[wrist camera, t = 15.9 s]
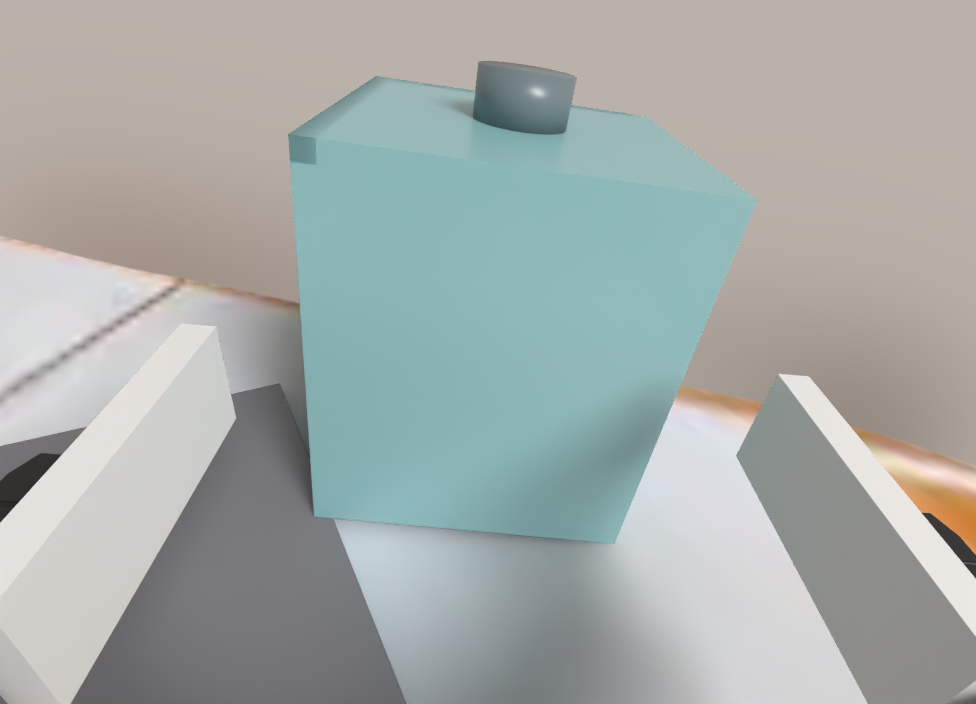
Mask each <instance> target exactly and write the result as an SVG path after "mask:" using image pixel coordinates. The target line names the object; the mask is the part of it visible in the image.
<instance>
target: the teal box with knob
mask: <svg viewBox="0 0 976 704" xmlns="http://www.w3.org/2000/svg"><path fill="white" fill-rule="evenodd" d="M576 79H577V78H576V77H575V76H573V75H570V74H567V73H563V72H559V71H555V70H550V69H545V68H540V67H535V66H528V65H522V64H515V63H507V62H497V61H496V62H495V61H480V62H478V71H477V80H476V90H475V91H473V90H465V89H459V88H452V87H446V86H439V85H432V84H426V83H418V82H412V81H406V80H399V79H392V78H385V77H379V76H376V77H374V78H373V79H371V80H370V81H368V82H367V83H365V84H364V85H362V86H361V87H359V88H358V89H356V90H354V91H353V92H351V93H350V94H348V95H347V96H345V97H344V98H342V99H341V100H339V101H338V102H337V103H335V104H334V105H332V106H330V107H329V108H327V109H326V110H324V111H323V112H321V113H320V114H318V115H317V116H315V117H314V118H312V119H311V120H309V121H308V122H306V123H305V124H303V125H302V126H301V127H299V128H297V129H296V130H294V131H293V132H291V133H290V134H288V137H289V152H290V167H291V180H292V181H291V182H292V197H293V211H294V225H295V239H296V256H297V271H298V285H299V299H300V315H301V330H302V345H303V359H304V374H305V389H306V404H307V419H308V433H309V448H310V463H311V478H312V493H313V507H314V517H325V518H336V519H347V520H358V521H369V522H380V523H391V524H402V525H413V526H424V527H435V528H446V529H457V530H468V531H479V532H490V533H501V534H512V535H523V536H534V537H546V538H557V539H568V540H579V541H590V542H601V543H612V544H614V543H615V541H616V538H617V536H618V533H619V531H620V529H621V526H622V524H623V521H624V519H625V517H626V514H627V512H628V509H629V507H630V505H631V502H632V500H633V497H634V495H635V493H636V490H637V488H638V485H639V483H640V481H641V478H642V476H643V473H644V471H645V469H646V466H647V464H648V461H649V459H650V457H651V454H652V452H653V449H654V447H655V445H656V442H657V440H658V437H659V435H660V433H661V430H662V428H663V425H664V423H665V421H666V418H667V416H668V413H669V411H670V409H671V406H672V404H673V401H674V399H675V397H676V394H677V392H678V389H679V387H680V385H681V382H682V380H683V377H684V375H685V373H686V370H687V368H688V365H689V363H690V361H691V358H692V356H693V353H694V351H695V349H696V346H697V344H698V341H699V339H700V337H701V334H702V332H703V329H704V327H705V325H706V322H707V320H708V317H709V315H710V313H711V310H712V308H713V305H714V303H715V300H716V298H717V296H718V293H719V291H720V289H721V286H722V284H723V281H724V279H725V277H726V274H727V271H728V269H729V267H730V265H731V262H732V260H733V257H734V255H735V252H736V250H737V247H738V245H739V243H740V240H741V238H742V236H743V233H744V231H745V229H746V226H747V224H748V221H749V219H750V216H751V214H752V212H753V209H754V207H755V204H756V202H757V199H755V198H754V197H753V196H751V195H750V194H748V193H747V192H746V191H745V190H743V189H742V188H741V187H739V186H738V185H737V184H735V183H734V182H733V181H731V180H730V179H729V178H727V177H726V176H725V175H723V174H722V173H721V172H719V171H718V170H717V169H715V168H714V167H713V166H711V165H710V164H709V163H707V162H706V161H705V160H703V159H702V158H700V157H699V156H698V155H697V154H695V153H694V152H693V151H691V150H690V149H689V148H687V147H686V146H685V145H683V144H682V143H680V142H679V141H678V140H676V139H675V138H674V137H673V136H671V135H670V134H668V133H667V132H666V131H665V130H663V129H662V128H661V127H659V126H658V125H656V124H655V123H654V122H653V121H651V120H650V119H649V118H647V117H646V116H640V115H633V114H627V113H620V112H614V111H606V110H599V109H593V108H587V107H580V106H573V105H571V104H572V99H573V94H574V89H575V84H576Z"/></svg>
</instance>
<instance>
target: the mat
mask: <svg viewBox="0 0 976 704" xmlns="http://www.w3.org/2000/svg"><path fill="white" fill-rule="evenodd" d="M231 397H232V401H233V406H234V410H235V415H236V420H235V421H234V423H233V425H232V426H231V428H230V430H229V432H228V433H227V435H226V437H225V439H224V440H223V442H222V444H221V445H220V447H219V449H218V451H217V452H216V454H215V456H214V458H213V459H212V461H211V463H210V464H209V466H208V468H207V470H206V471H205V473H204V475H203V476H202V478H201V480H200V482H199V483H198V485H197V487H196V489H195V490H194V492H193V494H192V495H191V497H190V499H189V501H188V502H187V504H186V506H185V507H184V509H183V511H182V513H181V514H180V516H179V518H178V520H177V521H176V523H175V525H174V526H173V528H172V530H171V532H170V533H169V535H168V537H167V538H166V540H165V542H164V544H163V545H162V547H161V549H160V551H159V552H158V554H157V556H156V557H155V559H154V561H153V563H152V564H151V566H150V568H149V569H148V571H147V573H146V575H145V576H144V578H143V580H142V582H141V583H140V585H139V587H138V588H137V590H136V592H135V594H134V595H133V597H132V599H131V600H130V602H129V604H128V606H127V607H126V609H125V611H124V613H123V614H122V616H121V618H120V619H119V621H118V623H117V625H116V626H115V628H114V630H113V631H112V633H111V635H110V637H109V638H108V640H107V642H106V644H105V645H104V647H103V649H102V650H101V652H100V654H99V656H98V657H97V659H96V661H95V662H94V664H93V666H92V668H91V669H90V671H89V673H88V675H87V676H86V678H85V680H84V681H83V683H82V685H81V687H80V688H79V690H78V692H77V694H76V695H75V697H74V699H73V700H72V702H71V704H406V702H405V700H404V697H403V695H402V692H401V690H400V687H399V685H398V682H397V679H396V677H395V674H394V672H393V669H392V667H391V664H390V662H389V659H388V657H387V654H386V652H385V649H384V647H383V644H382V641H381V639H380V636H379V634H378V631H377V629H376V626H375V624H374V621H373V619H372V616H371V614H370V611H369V609H368V606H367V603H366V601H365V598H364V596H363V593H362V591H361V588H360V586H359V583H358V581H357V578H356V576H355V573H354V571H353V568H352V565H351V563H350V560H349V558H348V555H347V553H346V550H345V548H344V545H343V543H342V540H341V538H340V535H339V533H338V530H337V528H336V525H335V522H334V520H333V518H325V517H314V507H313V493H312V478H311V463H310V459H309V457H308V454H307V452H306V449H305V446H304V444H303V441H302V439H301V436H300V434H299V431H298V429H297V426H296V424H295V421H294V419H293V416H292V414H291V411H290V409H289V406H288V403H287V401H286V398H285V396H284V393H283V391H282V388H281V386H280V384H275V385H271V386H267V387H262V388H258V389H253V390H249V391H244V392H240V393H235V394H231ZM86 428H87V427H84V428H80V429H75V430H71V431H66V432H62V433H58V434H53V435H49V436H44V437H40V438H35V439H31V440H26V441H22V442H18V443H13V444H9V445H4V446H0V481H1V480H2V479H3V478H4V477H5V476H6V475H7V474H8V473H9V472H11V471H13V470H14V469H16V468H17V467H19V466H21V465H22V464H24V463H25V462H27V461H29V460H30V459H32V458H33V457H35V456H37V455H38V454H40V453H48V454H63V453H64V452H65V451H66V450H67V449H68V448H69V446H70V445H71V444H72V443H73V442H74V441H75V440H76V439H77V438H78V437H79V435H80V434H81V433H82V432H83V431H84V430H85V429H86ZM0 704H8V703H7V702H6V701H5V700H4V699H3V698H2V697H1V695H0Z"/></svg>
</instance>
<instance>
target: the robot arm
mask: <svg viewBox="0 0 976 704" xmlns="http://www.w3.org/2000/svg"><path fill="white" fill-rule="evenodd" d="M235 420H236V415H235V410H234V406H233V401H232V397H231V392H230V387H229V383H228V378H227V373H226V369H225V364H224V360H223V355H222V350H221V346H220V341H219V337H218V332H217V327H216V326H207V325H195V324H183V323H181V324H180V325H179V326H178V327H177V329H176V330H175V331H174V332H173V333H172V334H171V335H170V336H169V337H168V338H167V340H166V341H165V342H164V343H163V344H162V345H161V346H160V347H159V348H158V349H157V351H156V352H155V353H154V354H153V355H152V356H151V357H150V358H149V359H148V361H147V362H146V363H145V364H144V365H143V366H142V367H141V368H140V369H139V370H138V372H137V373H136V374H135V375H134V376H133V377H132V378H131V379H130V380H129V381H128V383H127V384H126V385H125V386H124V387H123V388H122V389H121V390H120V391H119V392H118V394H117V395H116V396H115V397H114V398H113V399H112V400H111V401H110V402H109V403H108V405H107V406H106V407H105V408H104V409H103V410H102V411H101V412H100V413H99V414H98V416H97V417H96V418H95V419H94V420H93V421H92V422H91V423H90V424H89V426H88V427H87V428H86V429H85V430H84V431H83V432H82V433H81V434H80V435H79V437H78V438H77V439H76V440H75V441H74V442H73V443H72V444H71V445H70V446H69V448H68V449H67V450H66V451H65V452H64V453H63V454H48V453H40V454H38V455H37V456H35V457H33V458H32V459H30V460H29V461H27V462H25V463H24V464H22V465H21V466H19V467H17V468H16V469H14V470H13V471H11V472H9V473H8V474H7V475H6V476H5V477H4V478H3V479H2V480H1V481H0V695H1V697H2V698H3V699H4V700H5V701H6V702H7V703H8V704H71V702H72V700H73V699H74V697H75V695H76V694H77V692H78V690H79V688H80V687H81V685H82V683H83V681H84V680H85V678H86V676H87V675H88V673H89V671H90V669H91V668H92V666H93V664H94V662H95V661H96V659H97V657H98V656H99V654H100V652H101V650H102V649H103V647H104V645H105V644H106V642H107V640H108V638H109V637H110V635H111V633H112V631H113V630H114V628H115V626H116V625H117V623H118V621H119V619H120V618H121V616H122V614H123V613H124V611H125V609H126V607H127V606H128V604H129V602H130V600H131V599H132V597H133V595H134V594H135V592H136V590H137V588H138V587H139V585H140V583H141V582H142V580H143V578H144V576H145V575H146V573H147V571H148V569H149V568H150V566H151V564H152V563H153V561H154V559H155V557H156V556H157V554H158V552H159V551H160V549H161V547H162V545H163V544H164V542H165V540H166V538H167V537H168V535H169V533H170V532H171V530H172V528H173V526H174V525H175V523H176V521H177V520H178V518H179V516H180V514H181V513H182V511H183V509H184V507H185V506H186V504H187V502H188V501H189V499H190V497H191V495H192V494H193V492H194V490H195V489H196V487H197V485H198V483H199V482H200V480H201V478H202V476H203V475H204V473H205V471H206V470H207V468H208V466H209V464H210V463H211V461H212V459H213V458H214V456H215V454H216V452H217V451H218V449H219V447H220V445H221V444H222V442H223V440H224V439H225V437H226V435H227V433H228V432H229V430H230V428H231V426H232V425H233V423H234V421H235ZM736 456H737V458H738V460H739V462H740V464H741V466H742V468H743V470H744V472H745V473H746V475H747V477H748V479H749V481H750V483H751V485H752V487H753V488H754V490H755V492H756V494H757V496H758V498H759V500H760V502H761V503H762V505H763V507H764V509H765V511H766V513H767V515H768V517H769V519H770V520H771V522H772V524H773V526H774V528H775V530H776V532H777V534H778V535H779V537H780V539H781V541H782V543H783V545H784V547H785V549H786V551H787V552H788V554H789V556H790V558H791V560H792V562H793V564H794V566H795V567H796V569H797V571H798V573H799V575H800V577H801V579H802V581H803V583H804V584H805V586H806V588H807V590H808V592H809V594H810V596H811V598H812V599H813V601H814V603H815V605H816V607H817V609H818V611H819V613H820V615H821V616H822V618H823V620H824V622H825V624H826V626H827V628H828V630H829V631H830V633H831V635H832V637H833V639H834V641H835V643H836V645H837V647H838V648H839V650H840V652H841V654H842V656H843V658H844V660H845V662H846V663H847V665H848V667H849V669H850V671H851V673H852V675H853V677H854V678H855V680H856V682H857V684H858V686H859V688H860V690H861V692H862V694H863V695H864V697H865V699H866V701H867V703H868V704H976V555H975V554H974V553H973V552H972V550H971V549H970V548H969V547H968V546H967V545H966V544H965V542H964V541H963V540H962V539H961V538H960V537H959V536H958V535H957V534H956V533H954V532H953V531H952V530H951V529H949V528H948V527H947V526H946V525H944V524H943V523H942V522H941V521H939V520H938V519H937V518H936V517H934V516H933V515H932V514H930V513H921V512H920V511H919V509H918V508H917V507H916V506H915V505H914V503H913V502H912V501H911V500H910V498H909V497H908V496H907V495H906V494H905V492H904V491H903V490H902V489H901V488H900V486H899V485H898V484H897V483H896V482H895V480H894V479H893V478H892V477H891V475H890V474H889V473H888V472H887V471H886V469H885V468H884V467H883V466H882V465H881V463H880V462H879V461H878V460H877V459H876V457H875V456H874V455H873V454H872V452H871V451H870V450H869V449H868V448H867V446H866V445H865V444H864V443H863V442H862V440H861V439H860V438H859V437H858V435H857V434H856V433H855V432H854V431H853V429H852V428H851V427H850V426H849V425H848V423H847V422H846V421H845V420H844V419H843V417H842V416H841V415H840V414H839V413H838V411H837V410H836V409H835V408H834V406H833V405H832V404H831V403H830V402H829V401H828V399H827V398H826V397H825V396H824V394H823V393H822V392H821V391H820V390H819V388H818V387H817V386H816V385H815V383H814V382H813V381H812V380H811V379H810V377H809V376H797V375H786V374H778V375H777V377H776V379H775V381H774V383H773V385H772V387H771V389H770V391H769V393H768V395H767V396H766V399H765V400H764V402H763V404H762V406H761V408H760V410H759V412H758V414H757V416H756V418H755V420H754V422H753V424H752V426H751V428H750V430H749V432H748V434H747V436H746V437H745V439H744V441H743V443H742V445H741V447H740V449H739V451H738V453H737V455H736Z"/></svg>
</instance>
